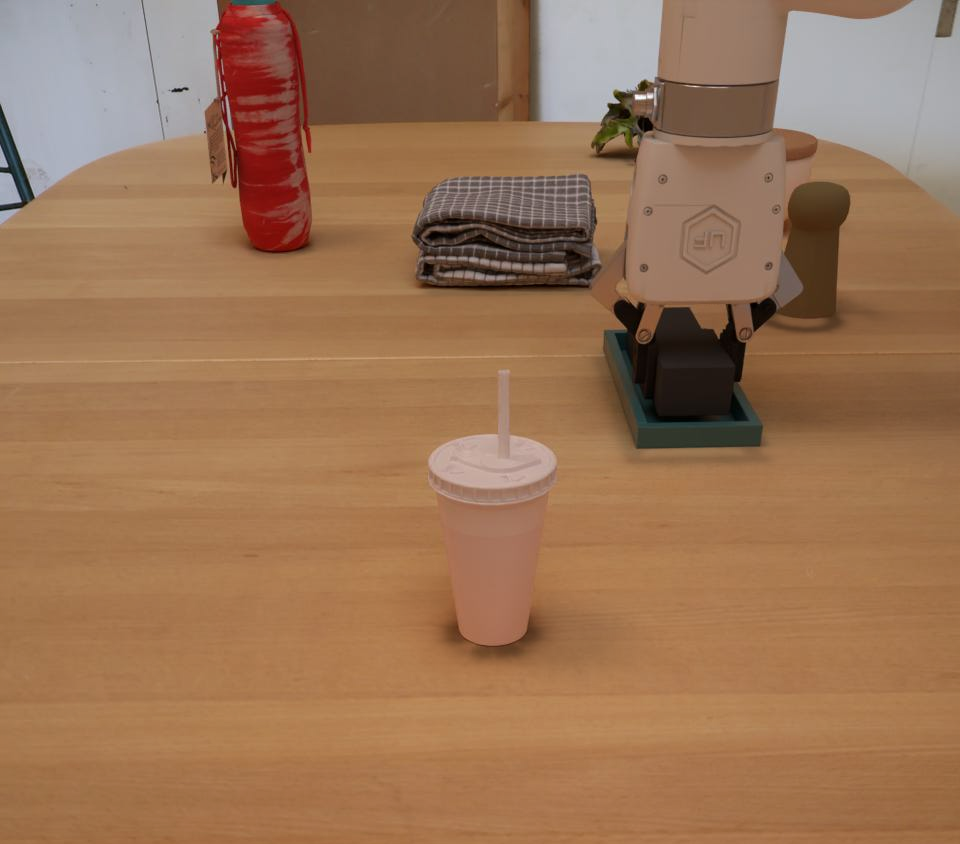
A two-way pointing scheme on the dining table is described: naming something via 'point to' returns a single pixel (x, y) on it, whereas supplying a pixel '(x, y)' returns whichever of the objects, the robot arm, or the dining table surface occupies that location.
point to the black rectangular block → (692, 374)
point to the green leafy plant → (623, 120)
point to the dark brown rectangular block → (667, 325)
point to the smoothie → (493, 523)
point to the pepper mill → (815, 247)
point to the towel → (507, 232)
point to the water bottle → (262, 122)
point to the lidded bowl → (797, 160)
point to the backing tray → (677, 430)
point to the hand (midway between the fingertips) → (685, 389)
